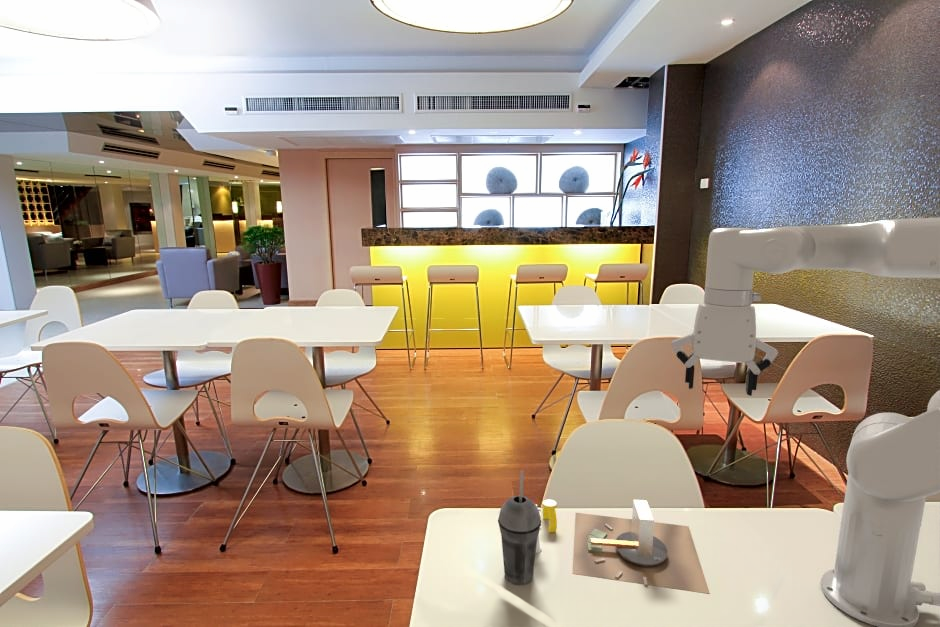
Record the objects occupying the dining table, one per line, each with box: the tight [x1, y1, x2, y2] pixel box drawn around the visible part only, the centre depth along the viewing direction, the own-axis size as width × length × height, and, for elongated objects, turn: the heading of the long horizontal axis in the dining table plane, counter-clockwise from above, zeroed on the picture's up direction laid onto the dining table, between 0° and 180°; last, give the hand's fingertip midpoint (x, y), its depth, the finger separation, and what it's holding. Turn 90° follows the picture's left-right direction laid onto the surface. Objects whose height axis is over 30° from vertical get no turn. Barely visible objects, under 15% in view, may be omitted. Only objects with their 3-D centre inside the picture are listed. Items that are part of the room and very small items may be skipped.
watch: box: [542, 498, 558, 533], centre depth 102 cm, size 6×3×6 cm, turn 6°
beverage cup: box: [497, 470, 542, 586], centre depth 86 cm, size 7×7×20 cm
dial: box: [591, 499, 667, 567], centre depth 93 cm, size 14×9×8 cm, turn 82°
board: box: [572, 512, 711, 595], centre depth 95 cm, size 22×19×2 cm
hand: (719, 389), depth 94 cm, fingers open, 9 cm apart
